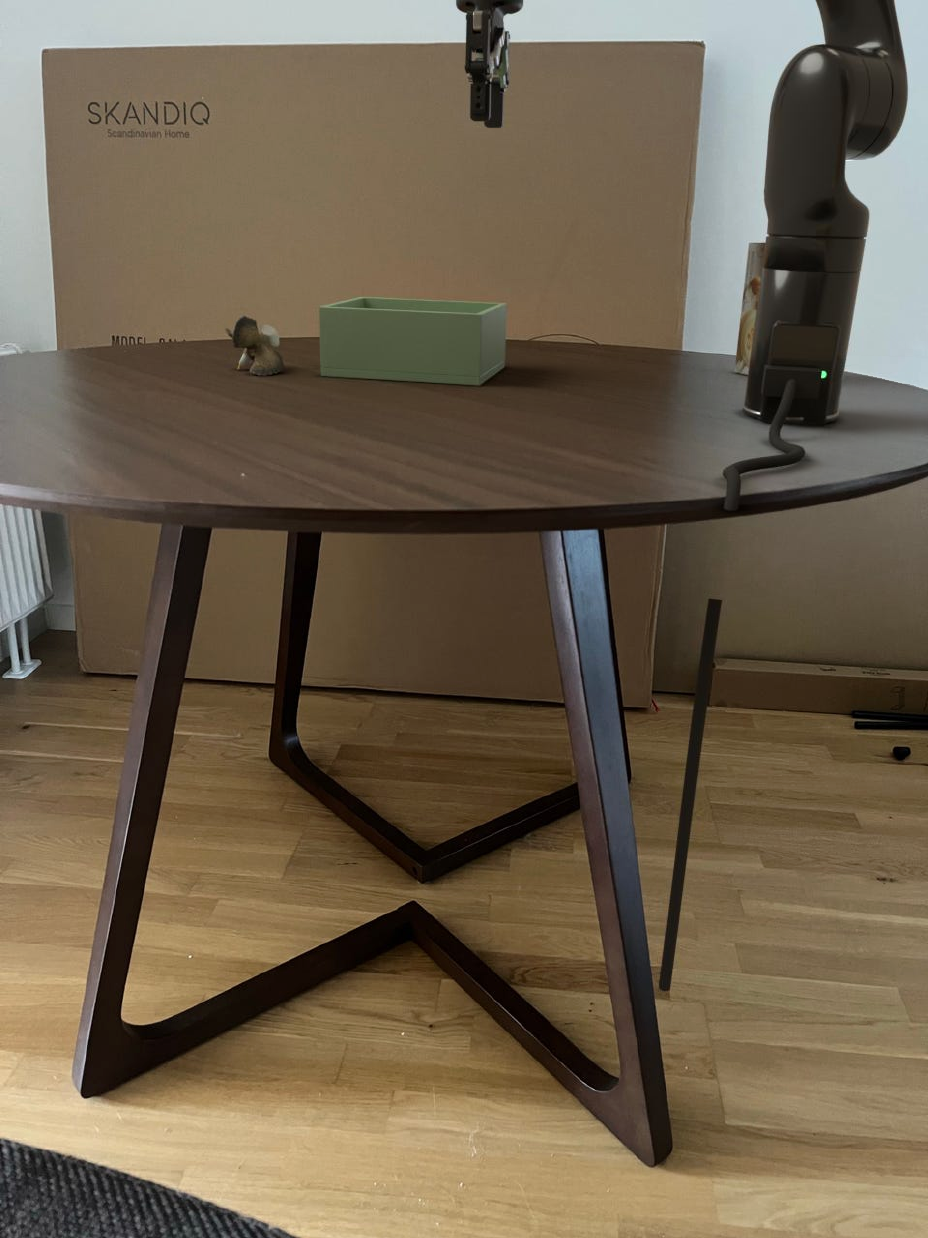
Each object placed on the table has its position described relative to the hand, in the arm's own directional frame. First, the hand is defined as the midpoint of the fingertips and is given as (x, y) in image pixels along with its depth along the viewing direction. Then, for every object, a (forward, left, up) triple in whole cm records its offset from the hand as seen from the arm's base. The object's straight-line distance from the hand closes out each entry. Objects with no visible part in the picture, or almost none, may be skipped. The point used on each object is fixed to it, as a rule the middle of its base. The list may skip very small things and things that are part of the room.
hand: (487, 124), depth 115 cm
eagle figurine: (-9, +27, -28) cm, 40 cm away
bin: (-3, +8, -28) cm, 29 cm away
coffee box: (+10, -36, -28) cm, 47 cm away
